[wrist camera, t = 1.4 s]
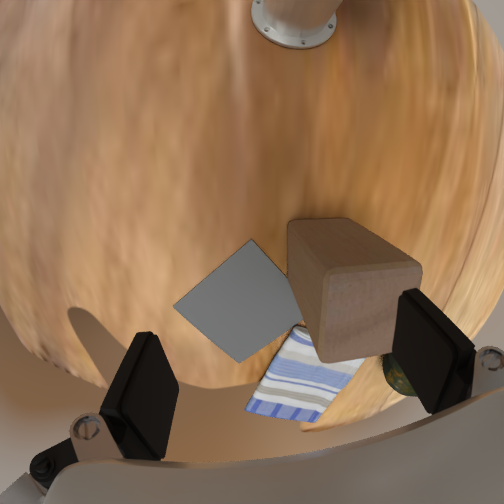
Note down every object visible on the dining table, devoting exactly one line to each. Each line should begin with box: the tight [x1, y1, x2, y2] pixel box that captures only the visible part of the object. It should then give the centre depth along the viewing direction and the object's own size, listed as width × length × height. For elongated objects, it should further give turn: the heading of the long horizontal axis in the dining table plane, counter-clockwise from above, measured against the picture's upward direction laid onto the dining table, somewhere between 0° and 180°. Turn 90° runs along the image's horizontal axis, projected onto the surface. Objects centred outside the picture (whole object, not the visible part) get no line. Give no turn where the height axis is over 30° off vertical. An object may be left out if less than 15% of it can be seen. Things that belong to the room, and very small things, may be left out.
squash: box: [382, 352, 418, 397], centre depth 44 cm, size 14×15×15 cm
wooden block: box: [287, 218, 423, 364], centre depth 33 cm, size 10×10×20 cm
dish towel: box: [245, 326, 367, 422], centre depth 50 cm, size 17×24×3 cm
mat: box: [173, 239, 303, 363], centre depth 45 cm, size 17×16×1 cm
